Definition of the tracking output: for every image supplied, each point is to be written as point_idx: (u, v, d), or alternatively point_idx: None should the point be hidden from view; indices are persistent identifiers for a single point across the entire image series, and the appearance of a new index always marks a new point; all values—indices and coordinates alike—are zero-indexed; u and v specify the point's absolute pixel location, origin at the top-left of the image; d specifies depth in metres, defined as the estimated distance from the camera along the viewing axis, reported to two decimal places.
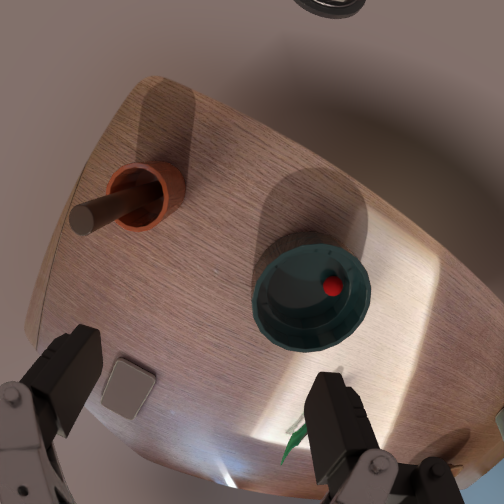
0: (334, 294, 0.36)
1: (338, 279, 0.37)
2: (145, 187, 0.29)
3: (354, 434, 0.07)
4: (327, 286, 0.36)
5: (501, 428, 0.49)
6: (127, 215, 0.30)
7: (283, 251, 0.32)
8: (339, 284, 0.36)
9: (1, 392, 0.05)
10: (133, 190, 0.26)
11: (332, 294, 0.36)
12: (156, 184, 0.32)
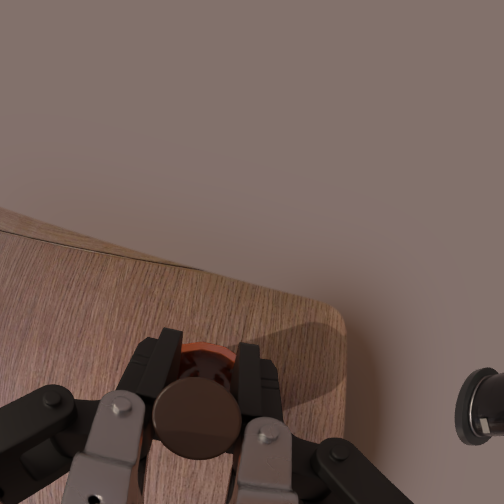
0: None
1: None
2: None
3: (252, 400, 0.08)
4: None
5: None
6: None
7: None
8: None
9: (110, 398, 0.06)
10: None
11: None
12: None
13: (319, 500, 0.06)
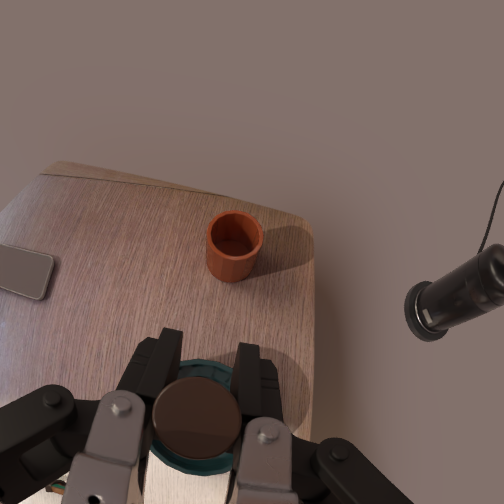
0: None
1: None
2: None
3: (251, 400, 0.08)
4: None
5: None
6: (212, 234, 0.39)
7: None
8: None
9: (110, 398, 0.06)
10: None
11: None
12: None
13: (319, 500, 0.06)
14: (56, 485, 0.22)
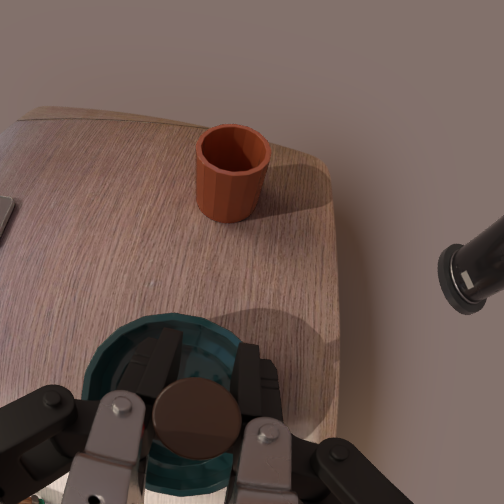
0: None
1: None
2: None
3: (251, 400, 0.08)
4: None
5: None
6: (203, 154, 0.29)
7: None
8: None
9: (110, 398, 0.06)
10: None
11: None
12: None
13: (319, 500, 0.06)
14: None
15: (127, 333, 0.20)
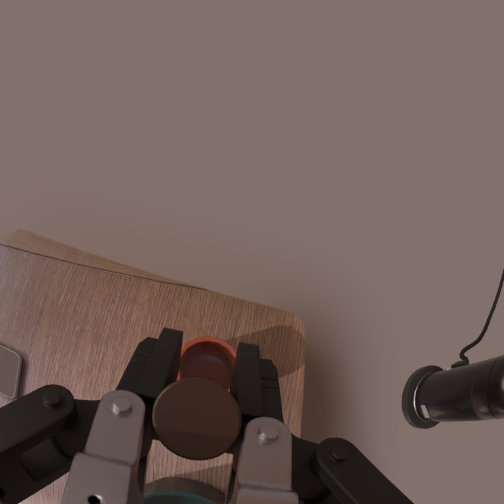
0: None
1: None
2: None
3: (251, 400, 0.08)
4: None
5: None
6: (182, 360, 0.31)
7: (212, 499, 0.24)
8: None
9: (110, 398, 0.06)
10: None
11: None
12: None
13: (319, 500, 0.06)
14: None
15: (144, 498, 0.23)
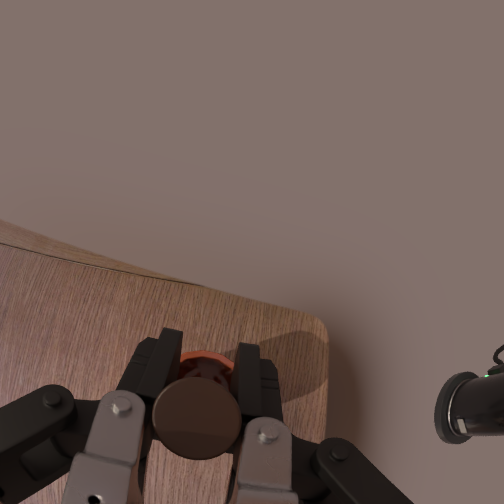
0: None
1: None
2: None
3: (252, 400, 0.08)
4: None
5: None
6: None
7: None
8: None
9: (110, 398, 0.06)
10: None
11: None
12: None
13: (319, 500, 0.06)
14: None
15: None
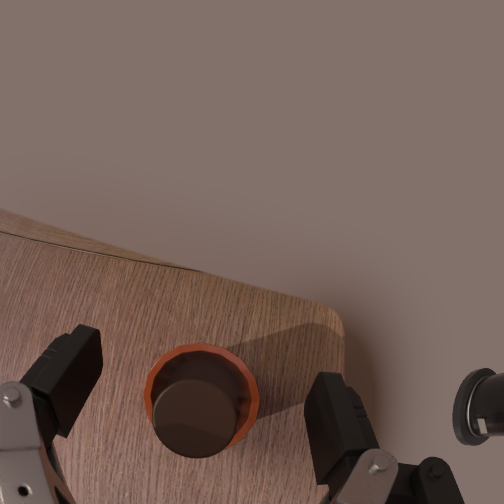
0: None
1: None
2: None
3: (354, 434, 0.07)
4: None
5: None
6: (159, 380, 0.18)
7: None
8: None
9: (1, 392, 0.05)
10: None
11: None
12: None
13: None
14: None
15: None
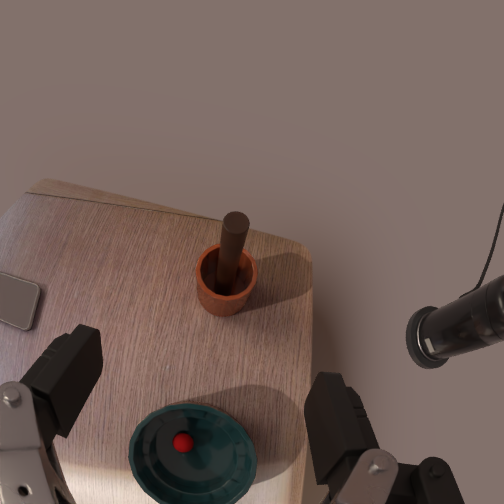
0: None
1: None
2: (234, 277, 0.35)
3: (354, 434, 0.07)
4: None
5: None
6: (202, 268, 0.36)
7: (227, 414, 0.29)
8: None
9: (1, 392, 0.05)
10: None
11: (190, 449, 0.29)
12: None
13: None
14: None
15: (157, 416, 0.28)
